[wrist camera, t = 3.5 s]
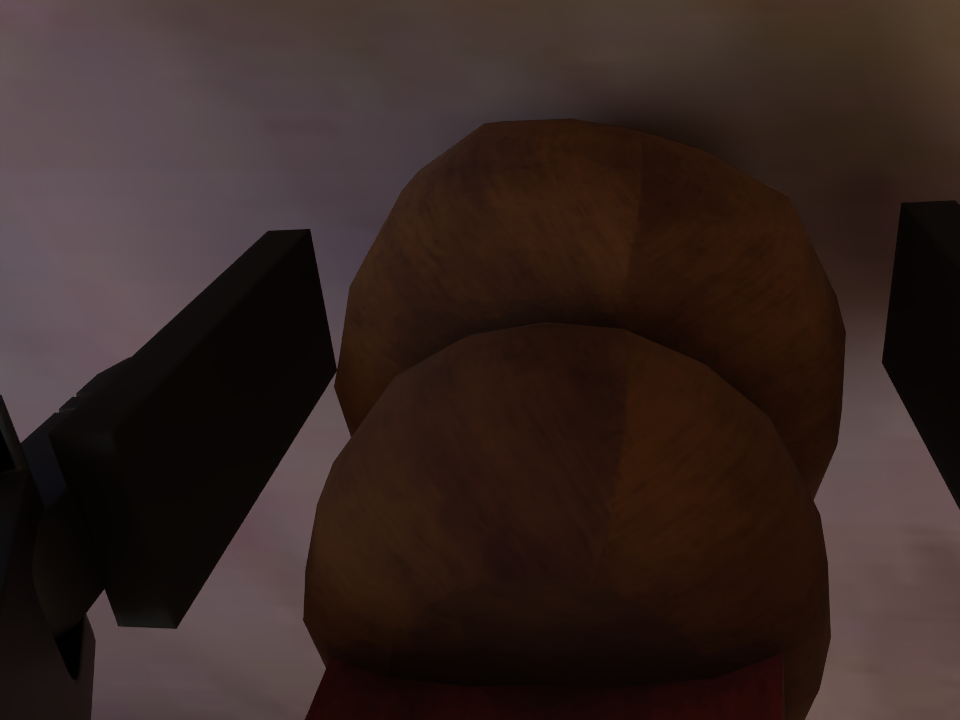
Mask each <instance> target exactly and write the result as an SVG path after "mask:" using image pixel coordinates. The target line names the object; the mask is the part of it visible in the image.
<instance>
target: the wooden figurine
mask: <svg viewBox="0 0 960 720" xmlns="http://www.w3.org/2000/svg"><path fill="white" fill-rule="evenodd" d="M845 338H846V331H845V327H844V323H843V320H842V316H841V312H840V308H839V304H838V300H837V297H836V294H835V292H834V290H833V288H832V286H831V284H830V282H829V280H828V278H827V275H826V273H825V271H824V269H823V267H822V265H821V263H820V261H819V259H818V257H817V255H816V252H815V250H814V248H813V246H812V244H811V242H810V240H809V238H808V236H807V234H806V232H805V230H804V227H803V225H802V223H801V221H800V219H799V217H798V215H797V214H796V212H795V210H794V208H793V206H792V204H791V202H790V200H789V198H788V197H787V196H785V195H783V194H781V193H779V192H777V191H775V190H773V189H771V188H769V187H767V186H765V185H763V184H761V183H760V182H758V181H756V180H754V179H753V178H751V177H749V176H748V175H746V174H744V173H742V172H741V171H739V170H737V169H735V168H734V167H732V166H730V165H728V164H727V163H725V162H723V161H721V160H720V159H718V158H716V157H714V156H713V155H711V154H709V153H707V152H706V151H704V150H701V149H697V148H694V147H691V146H688V145H684V144H681V143H678V142H675V141H672V140H668V139H665V138H662V137H659V136H655V135H652V134H649V133H646V132H642V131H639V130H635V129H629V128H623V127H617V126H612V125H606V124H600V123H594V122H588V121H582V120H576V119H550V120H527V121H504V122H494V123H487V124H483V125H482V126H481V127H479V128H478V129H476V130H475V131H474V132H472V133H471V134H469V135H468V136H467V137H465V138H464V139H463V140H461V141H460V142H458V143H457V144H456V145H454V146H453V147H452V148H450V149H449V150H447V151H446V152H445V153H443V154H442V155H441V156H439V157H438V158H436V159H435V160H434V161H432V162H431V163H429V164H428V165H427V166H425V167H424V168H423V169H421V170H420V171H419V172H418V173H417V174H416V175H415V176H414V178H413V179H412V180H411V181H410V182H409V183H408V184H407V185H406V186H405V188H404V189H403V190H402V191H401V193H400V195H399V197H398V199H397V201H396V202H395V204H394V206H393V208H392V210H391V212H390V214H389V215H388V217H387V219H386V221H385V223H384V225H383V226H382V228H381V230H380V232H379V234H378V236H377V237H376V239H375V241H374V243H373V245H372V247H371V249H370V250H369V252H368V254H367V256H366V258H365V260H364V261H363V263H362V265H361V267H360V269H359V271H358V272H357V274H356V276H355V278H354V280H353V282H352V283H351V285H350V288H349V295H348V302H347V309H346V316H345V323H344V330H343V336H342V343H341V350H340V357H339V362H338V368H337V373H336V379H335V384H334V388H335V391H336V394H337V397H338V400H339V403H340V406H341V409H342V411H343V414H344V417H345V420H346V423H347V426H348V429H349V432H350V435H351V439H350V440H349V441H348V443H347V444H346V446H345V447H344V448H343V450H342V451H341V453H340V454H339V455H338V457H337V458H336V460H335V461H334V462H333V465H332V468H331V470H330V473H329V475H328V478H327V480H326V483H325V486H324V488H323V491H322V493H321V496H320V498H319V501H318V504H317V509H316V514H315V520H314V525H313V531H312V537H311V542H310V548H309V553H308V559H307V565H306V571H305V594H304V617H303V621H304V623H305V625H306V627H307V629H308V631H309V633H310V635H311V638H312V640H313V642H314V644H315V646H316V648H317V650H318V652H319V654H320V656H321V658H322V660H323V663H324V665H325V667H326V670H325V673H324V675H323V678H322V680H321V682H320V685H319V687H318V690H317V692H316V694H315V697H314V699H313V702H312V704H311V706H310V709H309V711H308V714H307V716H306V718H305V720H805V718H806V716H807V714H808V712H809V710H810V707H811V705H812V703H813V701H814V699H815V697H816V695H817V693H818V691H819V689H820V685H821V680H822V675H823V671H824V666H825V662H826V657H827V652H828V648H829V643H830V639H831V631H830V606H829V582H828V561H827V555H826V549H825V542H824V536H823V530H822V524H821V517H820V514H819V512H818V509H817V507H816V505H815V503H814V501H813V500H814V498H815V495H816V493H817V491H818V488H819V486H820V484H821V481H822V479H823V477H824V474H825V472H826V470H827V467H828V465H829V463H830V460H831V458H832V456H833V453H834V451H835V449H836V446H837V443H838V435H839V427H840V420H841V412H842V396H843V376H844V357H845Z"/></svg>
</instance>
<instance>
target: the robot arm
mask: <svg viewBox="0 0 960 720" xmlns="http://www.w3.org/2000/svg"><path fill="white" fill-rule="evenodd" d="M882 364H883V366H884V368H885V370H886V371H887V373H888V375H889V377H890V379H891V381H892V383H893V385H894V387H895V388H896V390H897V392H898V394H899V396H900V398H901V400H902V402H903V404H904V405H905V407H906V409H907V411H908V413H909V415H910V417H911V419H912V421H913V422H914V424H915V426H916V428H917V430H918V432H919V434H920V436H921V438H922V439H923V441H924V443H925V445H926V447H927V449H928V451H929V453H930V455H931V456H932V458H933V460H934V462H935V464H936V466H937V468H938V470H939V472H940V473H941V475H942V477H943V479H944V481H945V483H946V485H947V487H948V489H949V490H950V492H951V494H952V496H953V498H954V500H955V502H956V504H957V506H958V507H959V509H960V205H959V204H958V203H957V202H956V201H934V202H911V203H901V209H900V218H899V226H898V234H897V242H896V251H895V259H894V267H893V275H892V284H891V292H890V300H889V308H888V317H887V325H886V333H885V341H884V350H883V358H882ZM336 371H337V368H336V363H335V358H334V352H333V347H332V342H331V336H330V331H329V326H328V321H327V315H326V310H325V305H324V300H323V294H322V289H321V284H320V279H319V273H318V268H317V263H316V258H315V252H314V247H313V242H312V236H311V231H310V229H300V230H277V231H268V232H266V233H265V234H264V235H263V236H262V237H261V238H260V239H259V240H258V241H257V242H256V243H255V244H253V245H252V246H251V247H250V248H249V249H248V250H247V251H246V252H245V253H244V254H243V255H242V256H240V257H239V258H238V259H237V260H236V261H235V262H234V263H233V264H232V265H231V266H230V267H229V268H227V269H226V270H225V271H224V272H223V273H222V274H221V275H220V276H219V277H218V278H217V279H216V280H214V281H213V282H212V283H211V284H210V285H209V286H208V287H207V288H206V289H205V290H204V291H203V292H201V293H200V294H199V295H198V296H197V297H196V298H195V299H194V300H193V301H192V302H191V303H190V304H188V305H187V306H186V307H185V308H184V309H183V310H182V311H181V312H180V313H179V314H178V315H177V316H175V317H174V318H173V319H172V320H171V321H170V322H169V323H168V324H167V325H166V326H165V327H164V328H162V329H161V330H160V331H159V332H158V333H157V334H156V335H155V336H154V337H153V338H152V339H151V340H149V341H148V342H147V343H146V344H145V345H144V346H143V347H142V348H141V349H140V350H139V351H138V352H136V353H135V354H134V355H133V356H132V357H129V358H127V359H125V360H123V361H121V362H120V363H118V364H116V365H114V366H112V367H110V368H108V369H107V370H105V371H103V372H101V373H99V374H97V375H96V376H95V377H94V378H93V379H92V380H91V381H90V382H88V383H87V384H86V385H85V386H84V387H83V388H82V389H81V390H80V391H78V392H77V393H76V394H77V396H76V397H72V398H71V399H70V400H68V401H67V402H66V403H65V404H64V405H63V406H62V407H61V408H59V413H54V414H53V415H52V416H51V417H49V418H48V419H47V420H46V421H45V422H44V423H43V424H42V425H41V426H39V427H38V428H37V429H36V430H35V431H34V432H33V433H32V434H30V435H29V436H28V437H27V438H26V439H25V440H24V441H23V442H22V443H20V441H19V439H18V436H17V434H16V431H15V428H14V426H13V423H12V421H11V418H10V416H9V413H8V410H7V408H6V405H5V403H4V400H3V397H2V395H0V720H91V708H92V692H93V675H94V659H95V643H96V641H95V637H94V634H93V630H92V627H91V625H90V622H89V620H88V617H87V614H86V612H87V611H88V610H89V608H90V607H91V606H92V604H93V603H94V602H95V601H96V599H97V598H98V597H99V595H100V594H101V593H102V591H103V590H104V589H105V591H106V594H107V596H108V599H109V602H110V604H111V607H112V610H113V613H114V615H115V618H116V621H117V623H118V626H124V627H148V628H172V629H176V628H177V627H178V625H179V624H180V622H181V620H182V619H183V617H184V616H185V614H186V612H187V611H188V609H189V608H190V606H191V604H192V603H193V601H194V600H195V598H196V596H197V595H198V593H199V592H200V590H201V588H202V587H203V585H204V583H205V582H206V580H207V579H208V577H209V575H210V574H211V572H212V571H213V569H214V567H215V566H216V564H217V563H218V561H219V559H220V558H221V556H222V555H223V553H224V551H225V550H226V548H227V546H228V545H229V543H230V542H231V540H232V538H233V537H234V535H235V534H236V532H237V530H238V529H239V527H240V526H241V524H242V522H243V521H244V519H245V518H246V516H247V514H248V513H249V511H250V510H251V508H252V506H253V505H254V503H255V501H256V500H257V498H258V497H259V495H260V493H261V492H262V490H263V489H264V487H265V485H266V484H267V482H268V481H269V479H270V477H271V476H272V474H273V473H274V471H275V469H276V468H277V466H278V465H279V463H280V461H281V460H282V458H283V456H284V455H285V453H286V452H287V450H288V448H289V447H290V445H291V444H292V442H293V440H294V439H295V437H296V436H297V434H298V432H299V431H300V429H301V428H302V426H303V424H304V423H305V421H306V419H307V418H308V416H309V415H310V413H311V411H312V410H313V408H314V407H315V405H316V403H317V402H318V400H319V399H320V397H321V395H322V394H323V392H324V391H325V389H326V387H327V386H328V384H329V383H330V381H331V379H332V378H333V376H334V374H335V373H336Z"/></svg>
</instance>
